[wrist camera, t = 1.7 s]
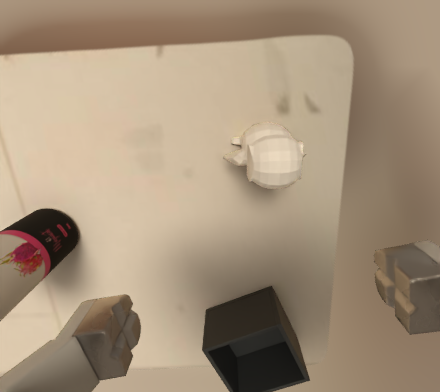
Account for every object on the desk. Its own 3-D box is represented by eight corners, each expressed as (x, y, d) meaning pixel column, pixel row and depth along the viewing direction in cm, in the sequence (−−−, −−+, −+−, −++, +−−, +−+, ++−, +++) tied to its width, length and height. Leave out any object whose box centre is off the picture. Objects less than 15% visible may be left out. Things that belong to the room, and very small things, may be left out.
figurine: (224, 162, 31) (223, 198, 19) (222, 119, 29) (220, 133, 18) (295, 158, 30) (336, 194, 19) (297, 116, 29) (343, 127, 18)
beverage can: (77, 209, 33) (-33, 291, 19) (82, 254, 35) (-13, 358, 21) (24, 205, 33) (-127, 284, 19) (32, 251, 35) (-96, 352, 21)
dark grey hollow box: (271, 285, 36) (281, 323, 30) (297, 336, 39) (310, 380, 33) (205, 309, 38) (202, 350, 32) (234, 357, 41) (236, 402, 35)
